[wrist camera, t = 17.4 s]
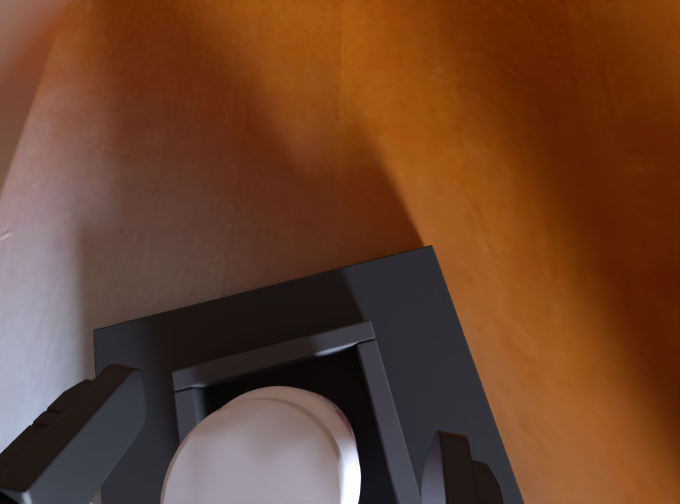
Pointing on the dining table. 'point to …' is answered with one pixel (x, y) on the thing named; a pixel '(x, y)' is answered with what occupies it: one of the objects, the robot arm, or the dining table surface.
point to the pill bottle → (267, 453)
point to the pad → (315, 371)
